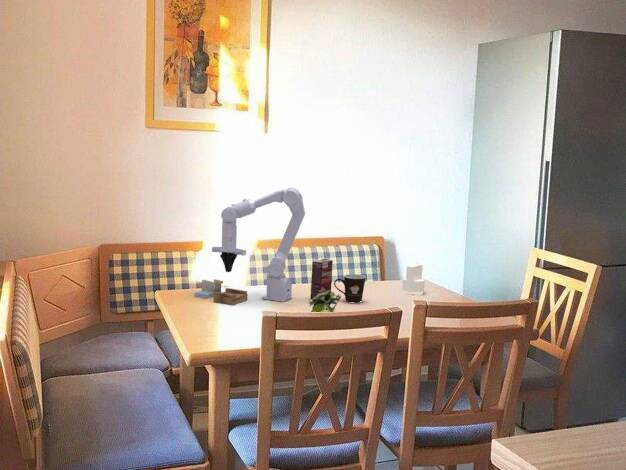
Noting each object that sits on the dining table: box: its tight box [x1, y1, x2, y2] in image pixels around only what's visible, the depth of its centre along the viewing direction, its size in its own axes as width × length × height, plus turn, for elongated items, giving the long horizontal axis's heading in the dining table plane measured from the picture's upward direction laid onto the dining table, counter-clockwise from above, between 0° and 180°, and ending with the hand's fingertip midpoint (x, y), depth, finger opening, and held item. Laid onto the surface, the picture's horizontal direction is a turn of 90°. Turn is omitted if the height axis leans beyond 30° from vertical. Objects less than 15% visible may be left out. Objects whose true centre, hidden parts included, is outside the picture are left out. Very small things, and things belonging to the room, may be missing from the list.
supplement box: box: [309, 258, 334, 301], centre depth 270 cm, size 9×5×16 cm, turn 148°
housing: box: [212, 287, 249, 306], centre depth 263 cm, size 9×10×4 cm
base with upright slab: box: [402, 263, 425, 292], centre depth 290 cm, size 9×9×12 cm
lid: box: [193, 289, 214, 300], centre depth 268 cm, size 6×5×2 cm
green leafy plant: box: [308, 289, 342, 313], centre depth 248 cm, size 11×11×12 cm
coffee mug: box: [333, 273, 366, 303], centre depth 271 cm, size 12×9×10 cm
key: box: [201, 279, 224, 293], centre depth 273 cm, size 11×2×6 cm, turn 50°
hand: (228, 271), depth 270 cm, fingers closed
